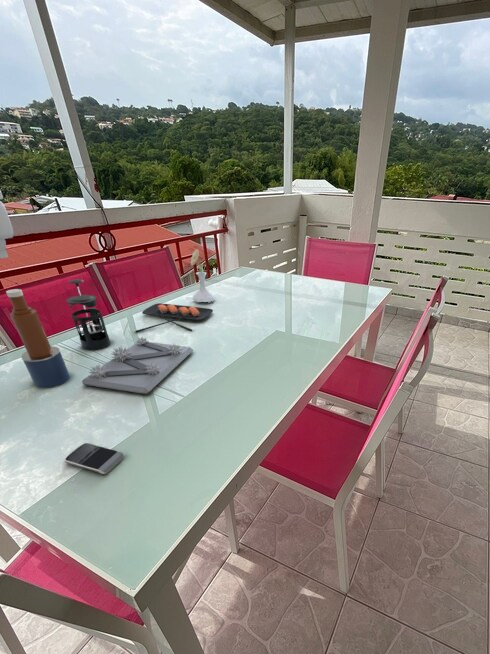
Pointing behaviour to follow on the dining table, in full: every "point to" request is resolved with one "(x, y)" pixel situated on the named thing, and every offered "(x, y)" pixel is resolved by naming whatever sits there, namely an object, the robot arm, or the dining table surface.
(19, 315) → the bottle
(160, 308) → the sushi plate
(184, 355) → the decorative plate
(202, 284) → the flower in vase
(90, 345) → the french press
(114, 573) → the dining table surface
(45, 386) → the tin can
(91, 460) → the cell phone
